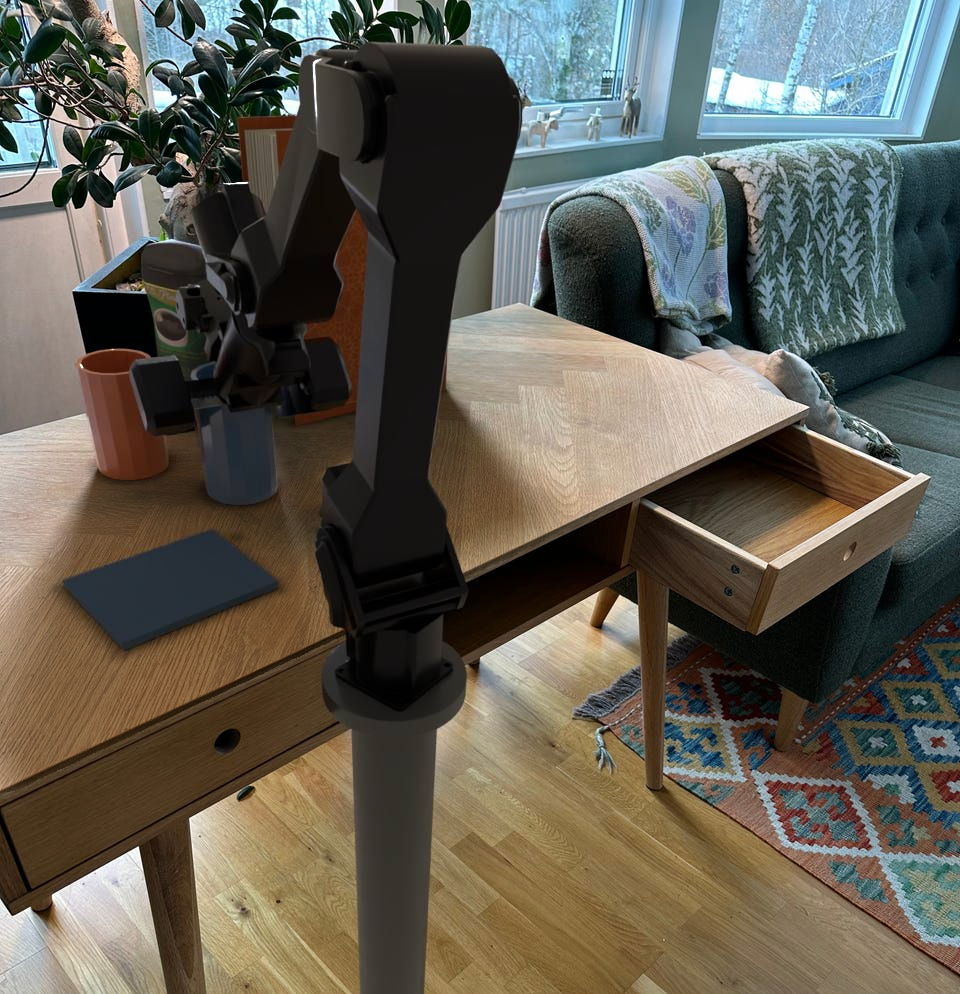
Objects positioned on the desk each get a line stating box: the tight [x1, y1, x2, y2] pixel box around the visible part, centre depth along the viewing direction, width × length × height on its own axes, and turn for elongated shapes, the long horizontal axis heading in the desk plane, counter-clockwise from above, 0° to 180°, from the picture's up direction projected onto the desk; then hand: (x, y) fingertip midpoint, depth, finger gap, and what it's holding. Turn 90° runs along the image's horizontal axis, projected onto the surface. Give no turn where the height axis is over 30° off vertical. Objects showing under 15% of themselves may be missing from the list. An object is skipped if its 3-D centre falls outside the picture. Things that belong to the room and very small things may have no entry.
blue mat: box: [61, 528, 279, 651], centre depth 75 cm, size 14×11×1 cm
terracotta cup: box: [74, 348, 170, 481], centre depth 89 cm, size 7×7×11 cm
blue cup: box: [191, 362, 279, 506], centre depth 86 cm, size 7×7×12 cm
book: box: [236, 115, 449, 426], centre depth 102 cm, size 23×8×30 cm, turn 129°
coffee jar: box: [140, 238, 214, 424], centre depth 98 cm, size 10×8×19 cm
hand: (231, 420), depth 86 cm, fingers open, 9 cm apart
